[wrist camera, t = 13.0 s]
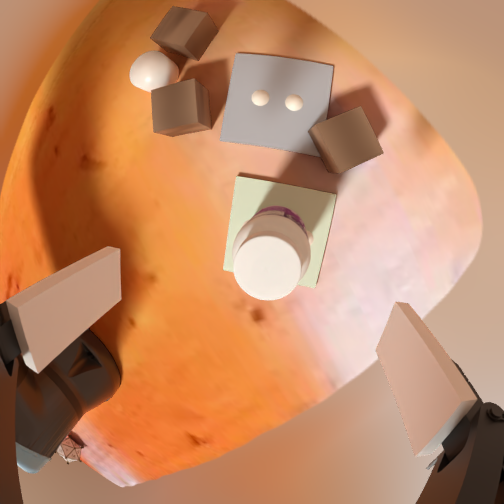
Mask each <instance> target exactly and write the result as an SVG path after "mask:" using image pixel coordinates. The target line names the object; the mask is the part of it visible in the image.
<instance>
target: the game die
mask: <svg viewBox="0 0 504 504" xmlns="http://www.w3.org/2000/svg"><path fill="white" fill-rule="evenodd" d="M70 437H71V436H70V435H69V438H65V439H64V441H63V442H62V443H61V445H60V446H59V447H58V449H57V450H56V451H55V453H56V452H57V453H58V454H59V455H60V456H61V457H62V458H63V459H65V460H66V461H67V464H69V462H73V461H78V460H79V461H80V462H81V460H80V454H81V448H84V447H80V446H79V445H78V444H77V443H76V442H74V441H73V440H72V439H71V438H70Z"/></svg>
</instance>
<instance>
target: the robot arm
mask: <svg viewBox="0 0 504 504" xmlns="http://www.w3.org/2000/svg"><path fill="white" fill-rule="evenodd" d="M120 300H122V298H121V272H120V249H119V248H114V247H110V246H107V247H105V248H103V249H101V250H99V251H97V252H95V253H93V254H91V255H89V256H87V257H85V258H83V259H81V260H79V261H77V262H75V263H73V264H71V265H69V266H67V267H65V268H63V269H61V270H59V271H58V272H56V273H54V274H52V275H50V276H48V277H46V278H44V279H43V280H41V281H39V282H37V283H35V284H34V285H32V286H30V287H28V288H27V289H25V290H23V291H21V292H20V293H18V294H16V295H14V296H13V297H11V298H9V299H8V300H6V301H5V302H3V303H2V304H0V504H23V500H22V494H21V489H20V483H19V476H18V467H17V465H18V466H19V467H20V468H22V469H23V470H24V471H26V472H29V473H37V472H39V471H40V470H41V469H42V467H43V466H44V465H45V464H46V463H47V462H48V461H50V460H51V457H52V456H53V454H54V453H55V451H56V450H57V449H58V447H59V446H60V445H61V443H62V442H63V441H64V439H65V438H66V437H67V435H68V434H69V433H70V432H71V430H72V429H73V428H74V426H75V425H76V424H77V422H78V421H79V420H80V419H81V417H82V416H83V415H84V414H85V413H86V412H88V411H90V410H91V409H93V408H95V407H97V406H98V405H100V404H102V403H103V402H105V401H108V400H109V399H110V398H112V396H113V395H114V394H115V393H116V391H117V390H118V388H119V386H120V374H119V371H118V368H117V365H116V363H115V361H114V359H113V358H112V356H111V354H110V353H109V351H108V350H107V349H106V347H105V346H104V345H103V343H102V342H101V341H100V340H99V339H98V338H97V337H96V336H95V335H94V334H93V333H92V332H91V331H90V330H89V329H88V328H89V327H90V326H91V325H92V324H93V323H95V322H96V321H97V320H98V319H99V318H100V317H101V316H103V315H104V314H105V313H106V312H107V311H108V310H110V309H111V308H112V307H113V306H114V305H116V304H117V303H118V302H119V301H120ZM376 352H377V355H378V357H379V360H380V362H381V364H382V367H383V369H384V372H385V374H386V377H387V379H388V382H389V384H390V387H391V389H392V392H393V395H394V397H395V400H396V402H397V405H398V408H399V411H400V414H401V416H402V419H403V422H404V425H405V428H406V431H407V434H408V437H409V440H410V443H411V446H412V449H413V452H414V456H415V457H418V456H423V455H429V454H432V453H433V452H434V451H435V450H436V449H437V448H438V447H439V446H440V445H441V444H442V446H443V448H444V451H443V452H442V453H441V454H440V455H439V456H438V457H437V458H436V459H435V460H434V461H433V462H432V463H430V464H429V466H428V467H427V469H430V468H431V467H432V466H433V465H435V466H434V468H433V470H432V473H431V475H430V477H429V479H428V481H427V483H426V485H425V487H424V489H423V491H422V493H421V495H420V497H419V499H418V501H417V502H416V504H504V411H503V410H502V409H501V408H500V407H499V406H498V405H496V404H494V403H491V402H487V403H483V402H482V400H481V398H480V397H479V395H478V394H477V392H476V391H475V389H474V388H473V386H472V384H471V383H470V382H468V379H467V377H466V376H465V375H464V373H463V372H462V370H461V368H460V367H459V366H458V364H456V363H455V362H454V361H453V360H452V359H450V357H449V356H448V354H447V353H446V352H445V350H444V349H443V347H442V346H441V345H440V343H439V342H438V341H437V339H436V338H435V337H434V336H433V334H432V333H431V331H430V330H429V329H428V327H427V326H426V325H425V324H424V322H423V321H422V320H421V318H420V317H419V316H418V315H417V313H416V312H415V311H414V310H413V308H412V307H411V306H410V305H409V304H408V303H401V302H395V304H394V306H393V309H392V312H391V314H390V317H389V319H388V322H387V324H386V327H385V329H384V332H383V334H382V336H381V339H380V341H379V343H378V346H377V348H376Z"/></svg>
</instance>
